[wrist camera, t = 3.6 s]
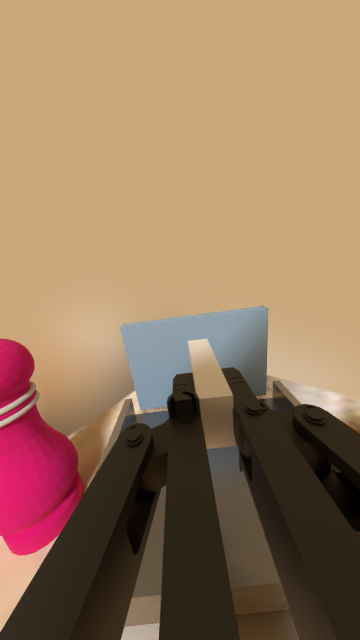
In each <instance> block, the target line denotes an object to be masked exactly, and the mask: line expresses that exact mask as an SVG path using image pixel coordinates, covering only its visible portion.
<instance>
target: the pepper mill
mask: <svg viewBox="0 0 360 640" xmlns="http://www.w3.org/2000/svg"><path fill="white" fill-rule="evenodd" d="M33 371H34V359H33V357H32V355H31V353H30V352H29V351H28V349H27V348H26V347H24V346H23V345H21V344H20V343H18V342H15V341H12V340H8V339H0V536H3V539H4V541H5V542H6V544H7V546H8V547H9V549H10V550H11V551H12V553H14V554H17V555H27V554H31V553H34V552H36V551H38V550H39V549H41V548H43V547H44V546H46V545H48V544H49V543H50V542H51V541H52V540H53V539H55V538H56V537H57V536H58V535H59V534H60V532H61V531H62V529H63V528H64V526H65V524H66V523H67V521H68V519H69V518H70V516H71V515H72V513H73V511H74V510H75V508H76V506H77V505H78V503H79V501H80V500H81V498H82V493H83V484H82V481H81V478H80V476H79V473H78V471H77V467H78V454H77V451H76V449H75V447H74V445H73V444H72V442H71V441H70V440H69V439H68V438H67V437H66V436H65V435H63V434H62V433H60V432H58V431H56V430H55V429H53V428H52V427H50V426H49V425H47V424H46V422H45V421H44V420H43V419H42V418H41V416H40V414H39V412H38V410H37V406H36V402H37V400H38V399H39V392H38V391H37V390H36V384H35V383H34V382H31V381H29V380H30V378H31V376H32V374H33Z"/></svg>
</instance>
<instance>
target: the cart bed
mask: <svg viewBox="0 0 360 640" xmlns="http://www.w3.org/2000/svg"><path fill="white" fill-rule="evenodd" d="M260 400H261V401H263V402H264V403H266V404H267V405H268V406H269V407H270V409H272V410H275V411H279V412H287V413H293V410H294V407H296V406H297V405H301V403H300V402H299V401H298V400H297V399H296V398H295V397H294V396H293V395H292V394H291V393H290V392H289V391H288V390H287V389H286V388H285V387H284V385H283V384H282V383H281V382H280V381H273V398H268V399H260ZM168 418H169V413H168V411H161V412H153V413H145V414H136V415H135V411H134V407H133V403H132V399H127V400H125V402H124V405H123V407H122V410H121V412H120V415H119V417H118V420H117V422H116V425H115V427H114V430H113V432H112V435H111V437H110V439H109V442H108V444H107V447H106V449H105V452H104V454H103V457H102V459H101V462H100V464H99V467H98V469H97V471H98V470H99V468H100V467H101V465H102V463H103V462H104V460H105V458H106V457H107V455H108V453H109V452H110V450H111V448H112V447H113V445H114V443H115V442H116V440H117V438H118V437H119V435H120V434H121V433H122V432H123V430H125V429H126V428H127V427H129V426H131V425H133V424H138V423H143V424H146V425H148V426H149V427H150V428H154V427H156V426H159V425H161V424H163V423H164V422H165V421H167V419H168ZM207 454H208V459H209V465H210V471H211V477H212V483H213V488H214V494H215V500H216V506H217V512H218V517H219V523H220V529H221V535H222V540H223V546H224V552H225V558H226V564H227V569H228V575H229V581H230V587H231V593H232V598H233V604H234V610H235V615H242V614H252V613H262V612H272V611H281V610H290V608H289V605H288V602H287V599H286V596H285V593H284V590H283V587H282V585H281V582H280V579H279V576H278V573H277V570H276V567H275V564H274V561H273V558H272V555H271V552H270V549H269V546H268V543H267V540H266V537H265V534H264V531H263V528H262V525H261V522H260V519H259V516H258V513H257V510H256V507H255V504H254V501H253V498H252V495H251V492H250V489H249V486H248V483H247V480H246V477H245V474H244V471H243V468H242V471H243V472H240V469H239V449H238V445H237V442H236V439H235V446H231V447H221V448H212V449H207ZM96 473H97V472H96ZM95 475H96V474H95ZM165 501H166V486H164V487H162V488H161V492H160V495H159V499H158V503H157V506H156V510H155V514H154V518H153V521H152V525H151V529H150V532H149V536H148V540H147V544H146V547H145V551H144V555H143V558H142V562H141V566H140V570H139V573H138V577H137V581H136V584H135V588H134V592H133V596H132V599H131V603H130V607H129V611H128V614H127V618H126V622H125V625H124V626H134V625H144V624H154V623H160V607H161V586H162V565H163V544H164V522H165Z"/></svg>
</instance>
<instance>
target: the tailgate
mask: <svg viewBox="0 0 360 640" xmlns="http://www.w3.org/2000/svg"><path fill="white" fill-rule="evenodd" d="M120 330H121V333H122V338H123V342H124V346H125V350H126V354H127V358H128V362H129V365H130V370H131V374H132V378H133V382H134V386H135V390H136V394H137V398H138V402H139V406H140V410H144V409H152V408H160V407H167V399H168V397H169V396H170V395H171V394H172V392H173V379H174V377H175V376H176V374H183V373H191V365H190V356H189V347H188V341H191V340H200V339H207V340H208V342H209V344H210V346H211V348H212V351H213V353H214V355H215V357H216V359H217V361H218V364H219V366H220V368H221V369H222V368H230V367H234V368H235V369H237V370H238V371H240V373H241V374H242V376H243V378H244V379H245V381H246V382H247V384H248V385H249V387H250V388H251V390H252V392H253V393H254V395H255V396H259V395H266V371H267V336H268V308H266V307H264V306H260V307H252V308H244V309H236V310H229V311H221V312H213V313H206V314H198V315H191V316H183V317H175V318H167V319H160V320H152V321H145V322H137V323H129V324H123V325H122V326H121V327H120Z"/></svg>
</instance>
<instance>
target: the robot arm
mask: <svg viewBox="0 0 360 640" xmlns="http://www.w3.org/2000/svg"><path fill="white" fill-rule="evenodd" d="M188 347H189V356H190V365H191V373H183V374H176V376H175V377H174V379H173V392H172V394H171V395H170V396H169V397H168V399H167V407H168V413H169V418H168V419H167V421H165V422H164V423H163V424H161V425H159V426H156V427H154V428H150V427H149V426H148V425H146V424H143V423H138V424H133V425H131V426H129V427H127V428H126V429H125V430H123V432H122V433H121V434H120V435H119V437H118V438H117V440H116V442H115V443H114V445H113V447H112V448H111V450H110V452H109V453H108V455H107V457H106V458H105V460H104V462H103V463H102V465H101V467H100V468H99V470H98V471H97V473H96V475H95V476H94V478H93V480H92V481H91V483H90V485H89V486H88V488H87V490H86V491H85V493H84V495H83V496H82V498H81V500H80V501H79V503H78V505H77V506H76V508H75V510H74V511H73V513H72V515H71V516H70V518H69V519H68V521H67V523H66V524H65V526H64V528H63V529H62V531H61V533H60V534H59V536H58V538H57V539H56V541H55V543H54V544H53V546H52V548H51V549H50V551H49V553H48V554H47V556H46V558H45V559H44V561H43V563H42V564H41V566H40V567H39V569H38V571H37V572H36V574H35V576H34V577H33V579H32V581H31V582H30V584H29V586H28V587H27V589H26V591H25V592H24V594H23V596H22V597H21V599H20V601H19V602H18V604H17V606H16V607H15V609H14V610H13V612H12V614H11V615H10V617H9V619H8V620H7V622H6V624H5V625H4V627H3V629H2V630H1V632H0V640H121V637H122V633H123V629H124V625H125V622H126V618H127V614H128V611H129V607H130V603H131V599H132V596H133V592H134V588H135V584H136V581H137V577H138V573H139V570H140V566H141V562H142V558H143V555H144V551H145V547H146V544H147V540H148V536H149V532H150V529H151V525H152V521H153V518H154V514H155V510H156V506H157V503H158V499H159V495H160V492H161V488H162V487H164V486H166V501H165V522H164V544H163V565H162V586H161V607H160V629H159V640H240V639H239V633H238V627H237V622H236V616H235V610H234V604H233V598H232V593H231V587H230V581H229V575H228V569H227V564H226V558H225V552H224V546H223V540H222V535H221V529H220V523H219V517H218V512H217V506H216V500H215V494H214V488H213V483H212V477H211V471H210V465H209V459H208V454H207V449H212V448H221V447H231V446H235V439H236V442H237V445H238V449H239V469H240V472H243V471H244V474H245V477H246V480H247V483H248V486H249V489H250V492H251V495H252V498H253V501H254V504H255V507H256V510H257V513H258V516H259V519H260V522H261V525H262V528H263V531H264V534H265V537H266V540H267V543H268V546H269V549H270V552H271V555H272V558H273V561H274V564H275V567H276V570H277V573H278V576H279V579H280V582H281V585H282V587H283V590H284V593H285V596H286V599H287V602H288V605H289V608H290V611H291V614H292V617H293V620H294V623H295V626H296V629H297V632H298V635H299V638H300V640H360V434H359V433H358V432H356V431H355V430H353V429H352V428H351V427H349V426H348V425H346V424H345V423H343V422H342V421H340V420H339V419H337V418H336V417H334V416H333V415H332V414H330V413H329V412H327V411H325V410H323V409H322V408H320V407H317V406H314V405H308V404H301V405H297V406H296V407H294V410H293V413H287V412H279V411H275V410H272V409H270V407H269V406H268V405H267V404H266V403H264V402H263V401H261V400H259V399H257V398H256V396H255V395H254V393H253V392H252V390H251V388H250V387H249V385H248V384H247V382H246V381H245V379H244V378H243V376H242V374H241V373H240V371H238V370H237V369H235V368H234V367H230V368H222V369H221V368H220V366H219V364H218V361H217V359H216V357H215V355H214V353H213V351H212V348H211V346H210V344H209V342H208V340H207V339H200V340H191V341H188ZM242 468H243V471H242Z"/></svg>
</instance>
